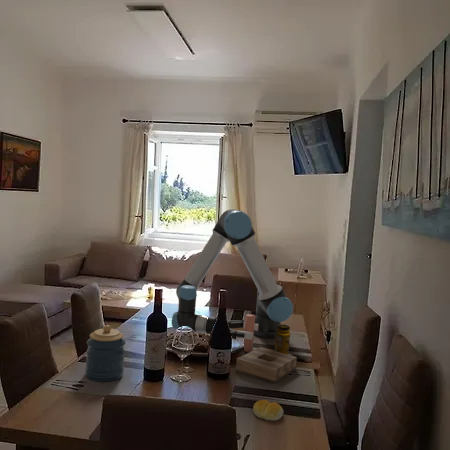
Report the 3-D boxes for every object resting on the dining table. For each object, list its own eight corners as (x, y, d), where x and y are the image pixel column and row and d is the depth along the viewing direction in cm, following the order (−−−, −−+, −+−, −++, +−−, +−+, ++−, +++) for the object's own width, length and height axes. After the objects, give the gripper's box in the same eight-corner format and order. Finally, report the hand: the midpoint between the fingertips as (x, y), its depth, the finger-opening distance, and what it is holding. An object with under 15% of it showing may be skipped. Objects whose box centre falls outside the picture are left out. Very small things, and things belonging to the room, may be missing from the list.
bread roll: (260, 405, 149) (261, 393, 149) (286, 414, 144) (287, 401, 144) (247, 415, 142) (248, 402, 142) (273, 424, 137) (275, 411, 137)
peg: (246, 347, 203) (248, 313, 202) (254, 350, 201) (256, 315, 200) (241, 350, 200) (244, 315, 198) (249, 352, 197) (252, 317, 196)
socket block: (259, 359, 190) (260, 347, 190) (295, 369, 181) (296, 357, 181) (235, 371, 175) (236, 358, 175) (274, 383, 166) (275, 370, 166)
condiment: (292, 355, 198) (295, 327, 197) (277, 358, 193) (279, 329, 192) (281, 349, 204) (283, 322, 203) (266, 352, 199) (268, 324, 198)
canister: (89, 384, 155) (92, 332, 153) (81, 370, 166) (84, 321, 165) (128, 380, 161) (131, 329, 159) (118, 366, 172) (121, 318, 171)
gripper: (213, 325, 216) (259, 332, 211) (198, 341, 192) (249, 349, 187) (215, 309, 215) (260, 315, 211) (199, 323, 191) (250, 330, 186)
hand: (255, 331), depth 199 cm, fingers open, 13 cm apart
